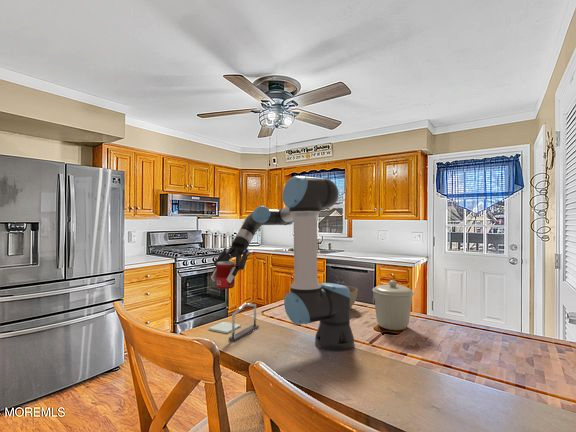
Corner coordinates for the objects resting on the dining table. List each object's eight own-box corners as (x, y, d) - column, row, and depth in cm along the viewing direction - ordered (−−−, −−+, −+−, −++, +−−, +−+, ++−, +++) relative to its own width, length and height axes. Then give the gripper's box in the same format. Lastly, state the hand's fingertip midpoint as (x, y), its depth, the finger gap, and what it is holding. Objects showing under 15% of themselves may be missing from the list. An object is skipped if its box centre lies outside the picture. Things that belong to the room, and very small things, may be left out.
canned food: (232, 289, 139) (232, 263, 139) (214, 289, 140) (214, 263, 140) (235, 285, 147) (236, 261, 147) (218, 285, 147) (218, 261, 147)
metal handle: (258, 328, 144) (259, 298, 144) (234, 342, 128) (235, 308, 128) (253, 327, 145) (253, 297, 145) (228, 340, 129) (228, 307, 129)
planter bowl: (321, 306, 179) (321, 286, 179) (345, 303, 186) (346, 284, 186) (338, 314, 164) (338, 293, 164) (363, 310, 171) (363, 290, 171)
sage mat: (241, 326, 145) (241, 324, 145) (227, 333, 136) (227, 331, 136) (223, 323, 150) (223, 321, 150) (208, 329, 141) (208, 328, 141)
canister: (407, 321, 155) (407, 277, 155) (419, 334, 137) (419, 285, 137) (369, 319, 157) (369, 276, 157) (375, 333, 139) (375, 283, 139)
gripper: (263, 247, 152) (243, 287, 138) (228, 244, 162) (206, 282, 147) (257, 236, 148) (236, 277, 133) (221, 234, 157) (197, 273, 143)
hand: (220, 280), depth 140 cm, fingers closed on canned food, 8 cm apart
